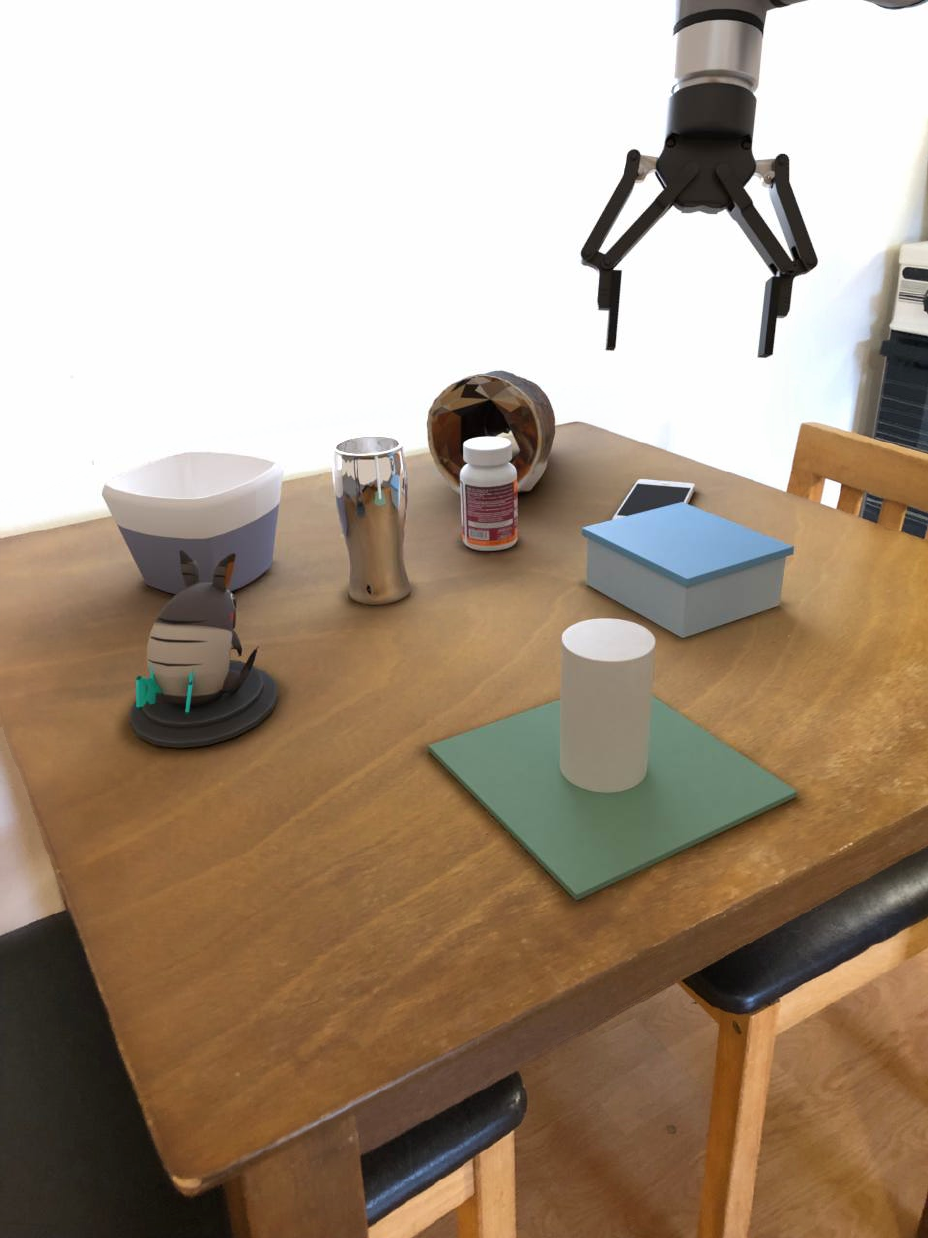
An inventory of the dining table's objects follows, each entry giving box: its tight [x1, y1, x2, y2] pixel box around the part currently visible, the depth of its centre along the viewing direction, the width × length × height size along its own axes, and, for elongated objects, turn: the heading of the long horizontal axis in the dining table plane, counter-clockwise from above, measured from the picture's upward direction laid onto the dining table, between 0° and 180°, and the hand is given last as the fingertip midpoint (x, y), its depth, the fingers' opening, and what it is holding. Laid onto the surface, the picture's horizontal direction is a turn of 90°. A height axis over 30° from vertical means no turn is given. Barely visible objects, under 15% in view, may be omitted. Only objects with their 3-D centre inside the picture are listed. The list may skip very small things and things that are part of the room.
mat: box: [428, 695, 798, 902], centre depth 65 cm, size 18×18×1 cm
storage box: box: [581, 502, 795, 639], centre depth 89 cm, size 15×13×6 cm
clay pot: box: [426, 370, 556, 495], centre depth 124 cm, size 15×15×25 cm
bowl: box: [101, 450, 284, 595], centre depth 96 cm, size 15×15×11 cm
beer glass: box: [331, 434, 411, 606], centre depth 89 cm, size 7×7×15 cm
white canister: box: [560, 618, 657, 793], centre depth 62 cm, size 6×6×10 cm
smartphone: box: [611, 478, 696, 520], centre depth 112 cm, size 7×16×1 cm, turn 159°
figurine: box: [129, 550, 279, 749], centre depth 72 cm, size 11×12×12 cm
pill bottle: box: [460, 436, 519, 552], centre depth 101 cm, size 6×6×11 cm
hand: (687, 352), depth 83 cm, fingers open, 13 cm apart
